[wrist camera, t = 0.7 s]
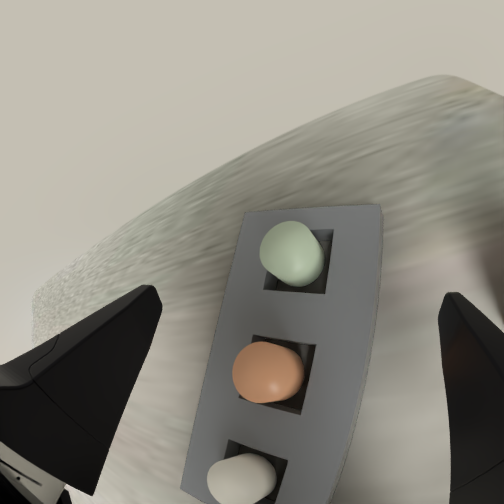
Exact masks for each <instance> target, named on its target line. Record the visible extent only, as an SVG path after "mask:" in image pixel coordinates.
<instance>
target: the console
mask: <svg viewBox="0 0 504 504" xmlns="http://www.w3.org/2000/svg"><path fill="white" fill-rule="evenodd" d="M286 221H297V222H300V223H302V224H304V225H305V226H306V227H307V228H308V229H309V230H310V231H311V233H312V234H313V235H314V237H315V238H316V239H317V241H325V240H333V241H332V250H331V257H330V265H329V272H328V279H327V286H326V292H325V294H314V293H300V292H286V291H275V290H276V285H277V280H278V278H277V277H276V276H275V275H273V274H272V273H271V272H269V271H268V270H267V269H266V268H265V267H264V266H263V264H262V263H261V260H260V246H261V243H262V240H263V238H264V237H265V235H266V234H267V233H268V231H269V230H271V229H272V228H273V227H274V226H276V225H278V224H280V223H282V222H286ZM382 246H383V214H382V210H381V206H380V204H371V205H348V206H328V207H311V208H295V209H281V210H267V211H255V212H245V215H244V219H243V222H242V226H241V230H240V234H239V238H238V242H237V246H236V250H235V254H234V258H233V262H232V266H231V270H230V274H229V278H228V282H227V286H226V290H225V294H224V298H223V302H222V306H221V310H220V315H219V319H218V323H217V327H216V331H215V335H214V340H213V344H212V348H211V352H210V356H209V361H208V365H207V369H206V373H205V378H204V382H203V386H202V391H201V395H200V400H199V404H198V408H197V413H196V417H195V422H194V426H193V431H192V435H191V440H190V444H189V449H188V453H187V458H186V463H185V467H184V472H183V477H182V482H181V486H180V489H181V490H183V491H185V492H186V493H188V494H190V495H191V496H193V497H195V498H197V499H198V500H200V501H202V502H204V503H206V504H221V503H219V502H218V501H217V500H216V499H215V498H214V497H213V495H212V494H211V492H210V490H209V488H208V484H207V475H208V471H209V469H210V468H211V466H212V465H213V464H215V463H216V462H218V461H221V460H225V459H228V458H231V457H235V456H238V452H239V448H240V444H243V445H245V446H248V447H251V448H253V449H256V450H259V451H262V452H265V453H268V454H271V455H274V456H277V457H280V458H283V459H287V460H288V464H287V467H286V471H285V474H284V477H283V480H282V483H281V487H280V490H279V493H278V496H277V499H276V502H274V501H271V500H268V499H266V498H262V499H260V500H259V501H257V502H255V503H254V504H330V503H331V500H332V497H333V495H334V492H335V489H336V487H337V484H338V481H339V478H340V475H341V472H342V469H343V466H344V463H345V460H346V457H347V453H348V450H349V447H350V443H351V440H352V436H353V433H354V429H355V425H356V421H357V417H358V413H359V409H360V405H361V401H362V396H363V392H364V387H365V382H366V377H367V372H368V367H369V361H370V356H371V350H372V344H373V337H374V330H375V323H376V315H377V307H378V298H379V288H380V277H381V263H382ZM265 338H267V339H273V340H279V341H286V342H292V343H299V344H305V345H313V346H316V349H315V354H314V359H313V364H312V369H311V373H310V378H309V382H308V387H307V391H306V396H305V400H304V404H303V408H302V410H298V409H294V408H290V407H286V406H282V405H278V404H274V403H271V402H266V403H255V402H251V401H249V400H247V399H245V398H244V397H242V396H241V395H240V393H239V392H238V391H237V389H236V387H235V385H234V382H233V377H232V370H233V365H234V361H235V359H236V357H237V355H238V354H239V353H240V351H241V350H242V349H243V348H245V347H246V346H248V345H249V344H252V343H255V342H265Z"/></svg>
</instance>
